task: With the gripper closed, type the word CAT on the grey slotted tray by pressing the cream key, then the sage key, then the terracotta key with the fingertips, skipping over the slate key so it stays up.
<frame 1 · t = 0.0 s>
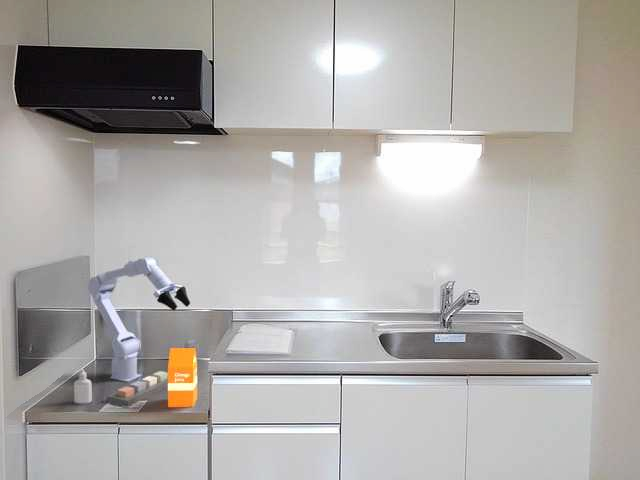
hand: (182, 306, 183), 32 cm above the countertop, tool tilted 50°, fingers open, 7 cm apart
eye dropper bottle: (83, 402, 171), on the countertop
slate key: (137, 386, 179), point 3 cm above the countertop, slide at 0.0 cm
orange juice: (182, 403, 173), on the countertop
sage key: (160, 376, 191), point 3 cm above the countertop, slide at 0.0 cm
grey slotted tray: (143, 391, 182), on the countertop
cream key: (149, 381, 185), point 3 cm above the countertop, slide at 0.0 cm
terracotta key: (125, 392, 174), point 3 cm above the countertop, slide at 0.0 cm
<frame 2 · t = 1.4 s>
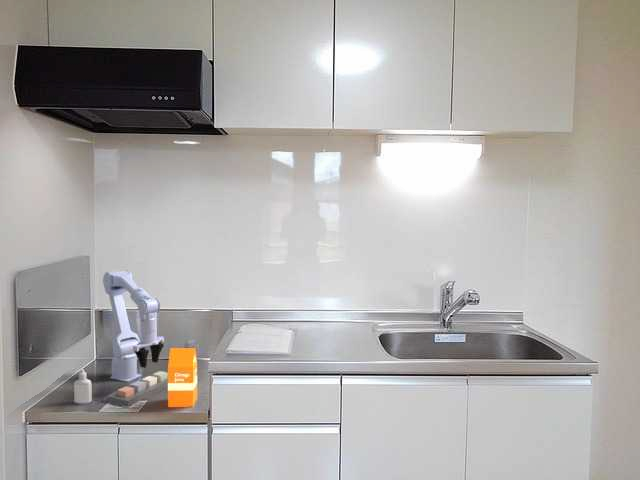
hand: (149, 364, 185), 9 cm above the countertop, tool pointing down, fingers open, 6 cm apart
nothing on the countertop moved.
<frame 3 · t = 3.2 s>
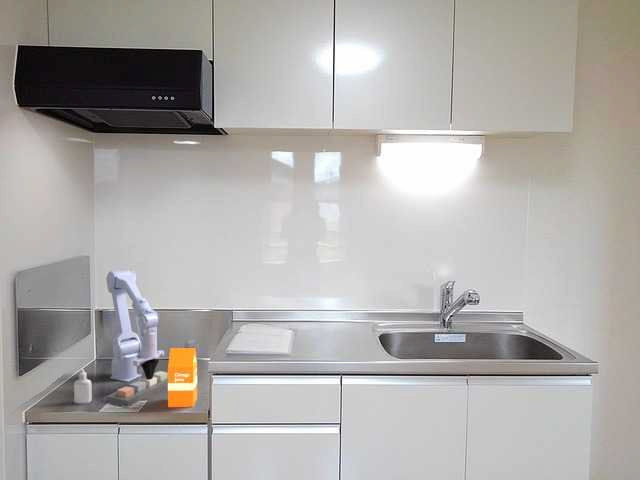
hand: (149, 378, 185), 4 cm above the countertop, tool pointing down, fingers closed, pressing on cream key
cream key: (149, 381, 185), point 3 cm above the countertop, slide at 0.1 cm, touching gripper
everything else where it was.
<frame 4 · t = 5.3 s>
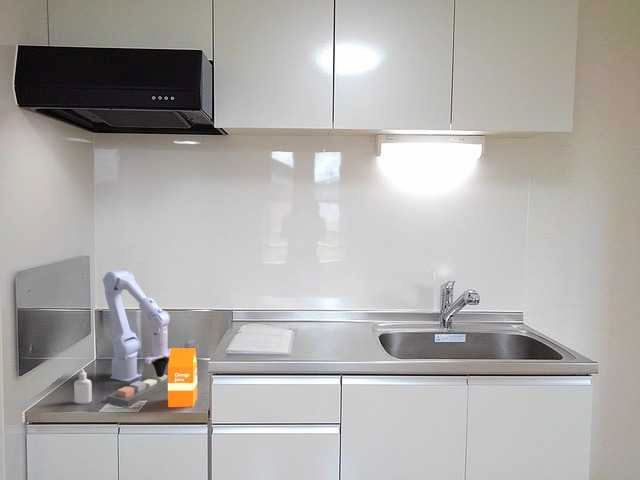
hand: (160, 376, 191), 3 cm above the countertop, tool pointing down, fingers closed, pressing on sage key
sage key: (160, 379, 191), point 2 cm above the countertop, slide at 1.1 cm, touching gripper
cream key: (149, 384, 185), point 2 cm above the countertop, slide at 1.1 cm
everything else where it was.
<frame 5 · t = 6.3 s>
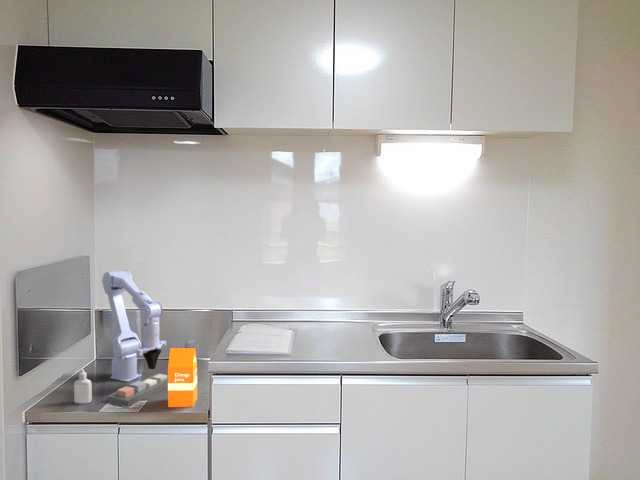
hand: (151, 368, 186), 7 cm above the countertop, tool pointing down, fingers closed
sage key: (160, 379, 191), point 2 cm above the countertop, slide at 1.1 cm
everything else where it was.
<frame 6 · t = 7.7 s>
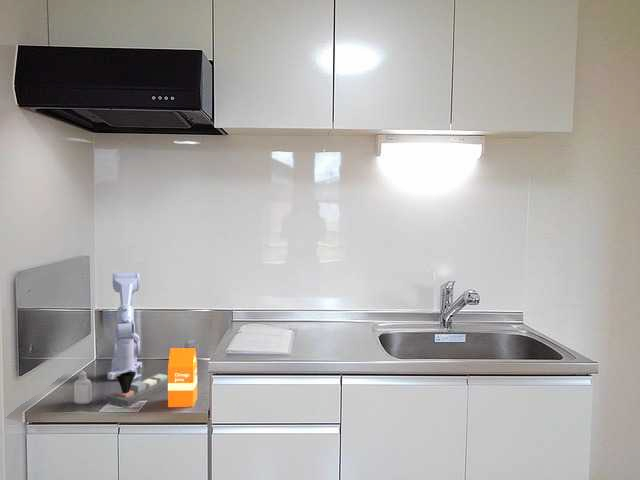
hand: (125, 392, 174), 3 cm above the countertop, tool pointing down, fingers closed, pressing on terracotta key
terracotta key: (125, 395, 174), point 2 cm above the countertop, slide at 1.1 cm, touching gripper
everything else where it was.
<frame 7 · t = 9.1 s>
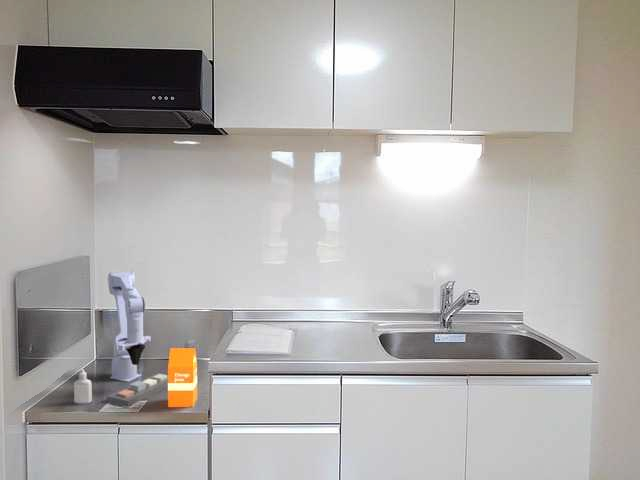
hand: (135, 364, 183), 10 cm above the countertop, tool pointing down, fingers closed
terracotta key: (125, 395, 174), point 2 cm above the countertop, slide at 1.1 cm
everything else where it was.
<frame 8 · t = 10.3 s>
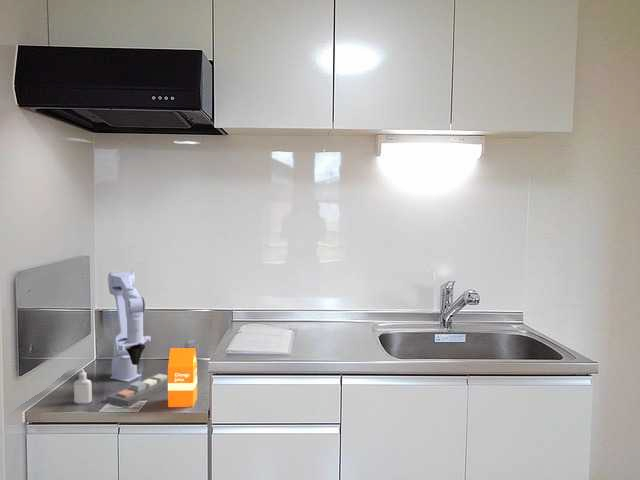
hand: (135, 364, 183), 10 cm above the countertop, tool pointing down, fingers closed
nothing on the countertop moved.
at the end: cream key slide at 1.1 cm; sage key slide at 1.1 cm; terracotta key slide at 1.1 cm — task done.
